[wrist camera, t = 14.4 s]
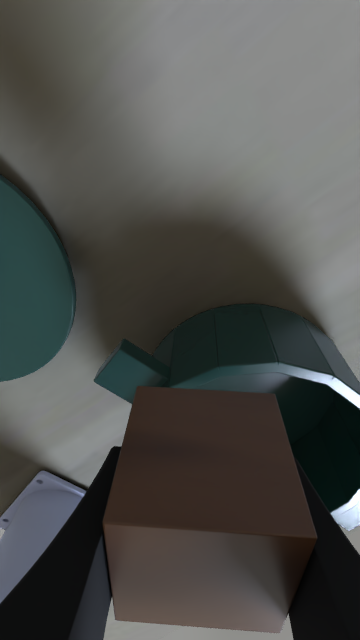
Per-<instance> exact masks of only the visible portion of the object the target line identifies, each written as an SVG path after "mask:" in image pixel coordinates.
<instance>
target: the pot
mask: <svg viewBox="0 0 360 640" xmlns="http://www.w3.org/2000/svg"><path fill="white" fill-rule="evenodd" d="M94 382H95V383H97V384H99V385H100V386H102V387H104V388H105V389H107V390H109V391H111V392H112V393H114V394H116V395H117V396H119V397H121V398H123V399H124V400H126V401H128V402H129V403H131V404H133V400H134V396H135V392H136V388H137V386H148V387H166V388H183V389H200V390H218V391H235V392H252V393H270V394H275V396H276V399H277V403H278V406H279V409H280V413H281V416H282V420H283V423H284V426H285V430H286V433H287V436H288V440H289V443H290V447H291V450H292V453H293V457H294V458H296V459H297V460H298V462H299V464H300V465H301V467H302V469H303V470H304V472H305V474H306V475H307V477H308V479H309V480H310V482H311V484H312V485H313V487H314V489H315V490H316V492H317V493H318V495H319V497H320V498H321V500H322V501H323V503H324V504H325V506H326V507H327V509H328V511H329V512H330V514H331V515H332V516H333V518H334V519H335V521H336V522H337V524H338V525H340V526H341V527H343V528H345V529H346V530H348V531H349V530H352V529H353V528H355V527H357V526H359V525H360V383H359V381H358V380H357V378H356V376H355V375H354V373H353V372H352V370H351V369H350V367H349V366H348V364H347V363H346V361H345V360H344V358H343V357H342V355H341V354H340V352H339V351H338V349H337V348H336V346H335V344H334V343H333V341H332V340H331V339H330V338H328V337H327V336H326V335H325V334H324V333H323V332H322V331H321V330H320V329H318V328H317V327H316V326H315V325H314V324H312V323H311V322H309V321H308V320H306V319H305V318H303V317H301V316H299V315H297V314H295V313H293V312H290V311H287V310H284V309H281V308H278V307H273V306H268V305H260V304H235V305H228V306H222V307H218V308H215V309H211V310H208V311H205V312H203V313H200V314H198V315H195V316H193V317H192V318H190V319H188V320H186V321H185V322H183V323H182V324H180V325H179V326H178V327H176V328H175V329H174V330H172V331H171V332H170V333H169V334H168V335H167V336H166V337H165V338H164V339H163V341H162V342H161V343H160V345H159V346H158V347H157V349H156V350H155V352H154V353H153V355H152V356H151V355H149V354H148V353H146V352H145V351H143V350H142V349H140V348H139V347H137V346H135V345H134V344H132V343H131V342H129V341H128V340H126V339H123V340H122V341H121V342H120V343H119V345H118V346H117V347H116V348H115V350H114V351H113V352H112V353H111V355H110V356H109V357H108V358H107V360H106V361H105V362H104V363H103V365H102V366H101V367H100V368H99V370H98V372H97V374H96V377H95V379H94Z"/></svg>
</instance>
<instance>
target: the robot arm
mask: <svg viewBox="0 0 360 640" xmlns="http://www.w3.org/2000/svg"><path fill="white" fill-rule="evenodd" d="M120 451H121V447H117V446H114V447H113V448H111V450H110V452H109V454H108V456H107V458H106V460H105V462H104V463H103V465H102V467H101V469H100V470H99V472H98V474H97V476H96V477H95V479H94V480H93V482H92V484H91V485H90V487H89V489H88V490H87V491H85V490H83V489H81V488H79V487H77V486H75V485H73V484H71V483H69V482H67V481H65V480H63V479H61V478H59V477H57V476H55V475H53V474H51V473H49V472H46V471H40V472H39V473H38V474H37V475H36V476H35V477H34V478H33V480H32V481H31V482H30V483H29V484H28V485H27V487H26V488H25V489H24V490H23V491H22V492H21V494H20V495H19V496H18V497H17V498H16V500H15V501H14V502H13V503H12V504H11V505H10V507H9V508H8V509H7V510H6V511H5V512H4V514H3V515H2V516H1V517H0V528H2V529H4V530H5V532H4V534H3V536H2V538H1V540H0V640H103V638H104V632H105V626H106V621H107V616H108V611H109V606H110V602H111V598H112V590H111V583H110V575H109V568H108V560H107V552H106V545H105V537H104V530H103V518H104V514H105V510H106V506H107V502H108V498H109V494H110V490H111V486H112V482H113V479H114V475H115V471H116V467H117V463H118V459H119V455H120ZM294 460H295V463H296V467H297V470H298V474H299V477H300V480H301V484H302V487H303V490H304V494H305V497H306V500H307V504H308V507H309V511H310V514H311V517H312V521H313V524H314V527H315V531H316V534H317V540H316V543H315V546H314V548H313V551H312V553H311V556H310V558H309V561H308V564H307V566H306V569H305V571H304V574H303V576H302V579H301V582H300V584H299V587H298V589H297V592H296V594H295V597H294V600H293V602H292V605H291V607H290V610H289V612H288V613H289V618H290V623H291V628H292V633H293V638H294V640H360V555H359V554H358V552H357V551H356V550H355V548H354V547H353V545H352V544H351V543H350V541H349V540H348V538H347V537H346V536H345V534H344V533H343V531H342V530H341V528H340V527H339V525H338V524H337V522H336V521H335V519H334V518H333V516H332V515H331V514H330V512H329V511H328V509H327V507H326V506H325V504H324V503H323V501H322V500H321V498H320V497H319V495H318V493H317V492H316V490H315V489H314V487H313V485H312V484H311V482H310V480H309V479H308V477H307V475H306V474H305V472H304V470H303V469H302V467H301V465H300V464H299V462H298V460H297V459H296V458H294Z"/></svg>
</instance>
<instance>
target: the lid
mask: <svg viewBox="0 0 360 640" xmlns="http://www.w3.org/2000/svg"><path fill="white" fill-rule="evenodd" d="M75 310H76V291H75V282H74V277H73V273H72V269H71V265H70V263H69V260H68V257H67V255H66V252H65V250H64V248H63V246H62V244H61V242H60V240H59V238H58V236H57V234H56V233H55V231H54V230H53V228H52V227H51V225H50V224H49V222H48V221H47V219H46V218H45V217H44V215H43V214H42V213H41V212H40V211H39V209H38V208H37V207H36V206H35V205H34V203H33V202H32V201H31V200H30V199H29V198H28V197H27V196H26V195H25V194H23V193H22V192H21V191H20V190H19V189H18V188H17V187H16V186H15V185H13V184H12V183H11V182H9V181H8V180H7V179H6V178H4V177H3V176H2V175H0V382H1V381H8V380H13V379H17V378H20V377H23V376H26V375H28V374H30V373H33V372H35V371H36V370H38V369H40V368H41V367H43V366H44V365H45V364H47V363H48V362H49V361H50V360H51V359H52V358H53V357H54V356H55V355H56V354H57V352H58V351H59V350H60V349H61V347H62V346H63V344H64V342H65V341H66V339H67V337H68V335H69V333H70V330H71V328H72V325H73V321H74V316H75Z"/></svg>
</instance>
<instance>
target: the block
mask: <svg viewBox="0 0 360 640" xmlns="http://www.w3.org/2000/svg"><path fill="white" fill-rule="evenodd" d="M103 530H104V537H105V545H106V552H107V560H108V568H109V575H110V583H111V590H112V598H113V606H114V613H115V620H118V621H131V622H143V623H156V624H168V625H181V626H193V627H194V626H195V627H206V628H218V629H231V630H244V631H257V632H269V633H281V630H282V628H283V625H284V623H285V620H286V618H287V615H288V612H289V610H290V607H291V605H292V602H293V600H294V597H295V594H296V592H297V589H298V587H299V584H300V582H301V579H302V576H303V574H304V571H305V569H306V566H307V564H308V561H309V558H310V556H311V553H312V551H313V548H314V546H315V543H316V540H317V534H316V531H315V527H314V524H313V521H312V517H311V514H310V511H309V507H308V504H307V500H306V497H305V494H304V490H303V487H302V484H301V480H300V477H299V474H298V470H297V467H296V463H295V460H294V457H293V453H292V450H291V447H290V443H289V440H288V436H287V433H286V430H285V426H284V423H283V420H282V416H281V413H280V409H279V406H278V403H277V399H276V396H275V394H270V393H252V392H235V391H218V390H200V389H183V388H166V387H148V386H137V388H136V392H135V396H134V400H133V404H132V408H131V412H130V416H129V420H128V424H127V428H126V431H125V435H124V439H123V443H122V447H121V451H120V455H119V459H118V463H117V467H116V471H115V475H114V479H113V482H112V486H111V490H110V494H109V498H108V502H107V506H106V510H105V514H104V518H103Z"/></svg>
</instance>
